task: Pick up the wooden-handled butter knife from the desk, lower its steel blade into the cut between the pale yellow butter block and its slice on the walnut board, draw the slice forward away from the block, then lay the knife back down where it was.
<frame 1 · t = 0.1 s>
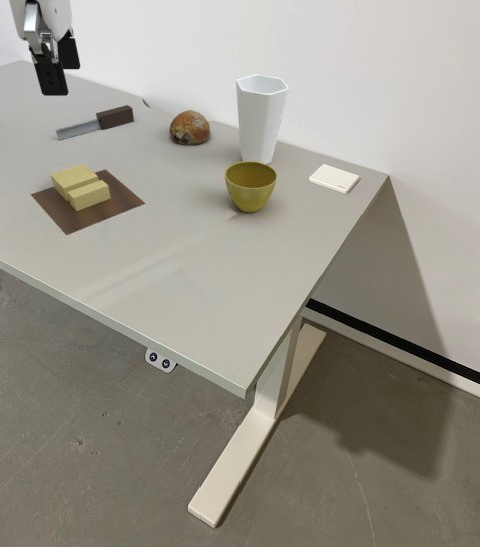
hand: (63, 81, 57), 27 cm above the table, tool pointing down, fingers open, 9 cm apart
knife: (98, 128, 106), on the table
butter block: (77, 188, 83), point 1 cm above the table, touching board
flower pot: (248, 206, 85), on the table
bread roll: (190, 137, 105), on the table
board: (89, 205, 82), on the table
butter slice: (91, 201, 80), point 1 cm above the table, touching board
cup: (256, 159, 98), on the table
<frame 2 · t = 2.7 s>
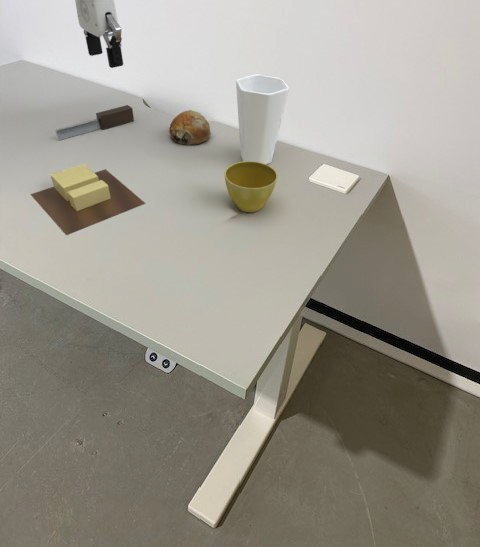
hand: (105, 60, 96), 16 cm above the table, tool pointing down, fingers open, 9 cm apart
nothing on the table moved.
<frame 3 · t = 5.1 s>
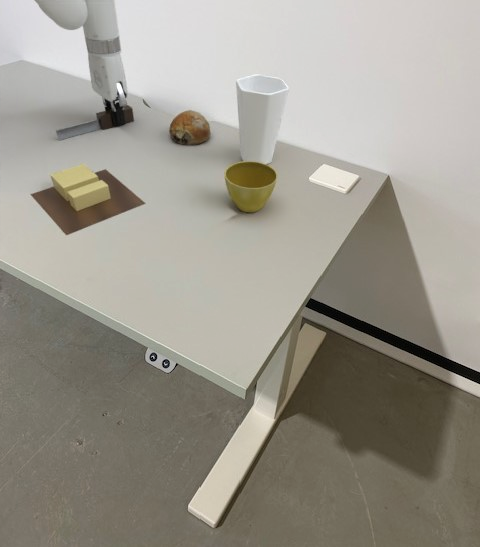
hand: (116, 122, 108), 0 cm above the table, tool pointing down, fingers closed on knife, 2 cm apart
knife: (98, 128, 106), on the table, touching gripper
everything else where it was.
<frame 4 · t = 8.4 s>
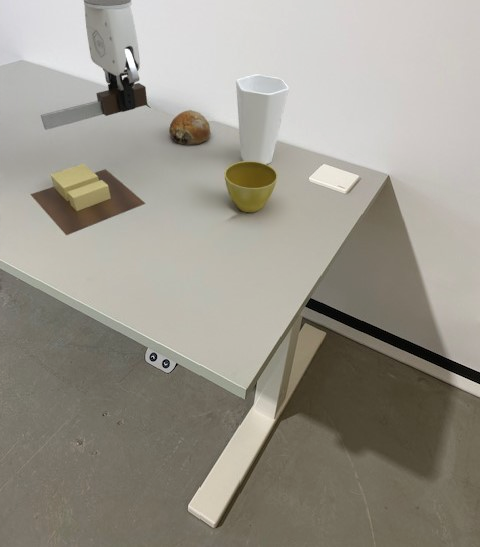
hand: (123, 106, 80), 15 cm above the table, tool pointing down, fingers closed on knife, 2 cm apart
knife: (100, 114, 78), point 15 cm above the table, touching gripper
everything else where it was.
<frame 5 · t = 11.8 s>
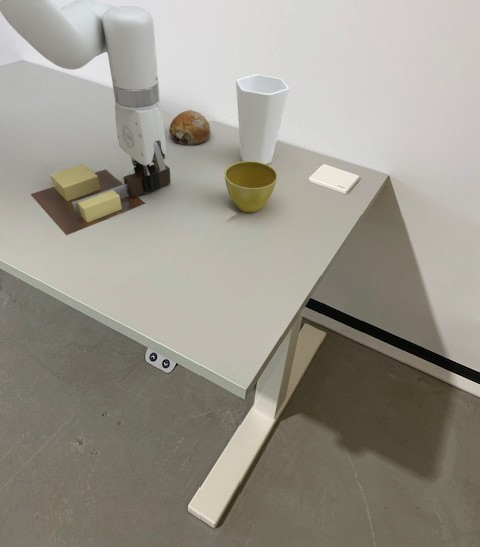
hand: (148, 186, 84), 2 cm above the table, tool pointing down, fingers closed on knife, 2 cm apart
knife: (126, 195, 81), point 2 cm above the table, touching butter slice, gripper
butter slice: (101, 212, 78), point 1 cm above the table, touching board, knife
everything else where it was.
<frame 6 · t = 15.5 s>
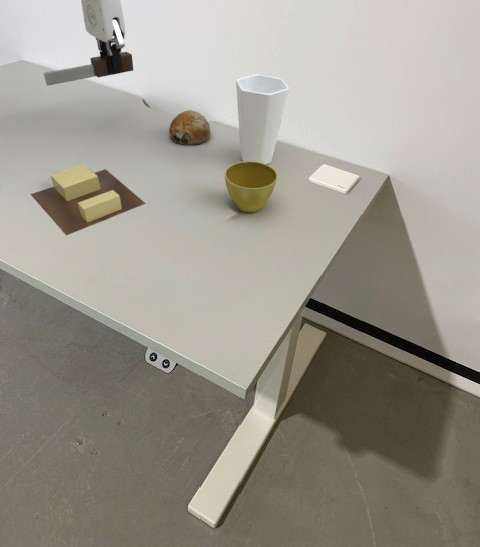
hand: (112, 70, 96), 14 cm above the table, tool pointing down, fingers closed on knife, 2 cm apart
knife: (93, 76, 94), point 14 cm above the table, touching gripper
butter slice: (101, 212, 78), point 1 cm above the table, touching board
everything else where it was.
when the fingers open (0 cm above the table, at t = 18.4 s): knife stays where it is, on the table.
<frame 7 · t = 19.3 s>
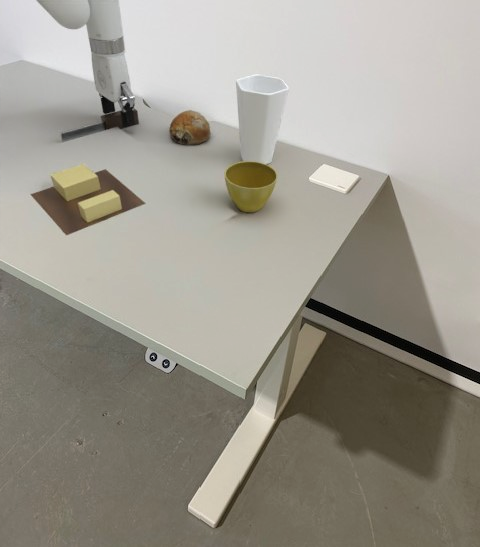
hand: (118, 119, 106), 2 cm above the table, tool pointing down, fingers open, 9 cm apart
knife: (103, 131, 105), on the table
everything else where it was.
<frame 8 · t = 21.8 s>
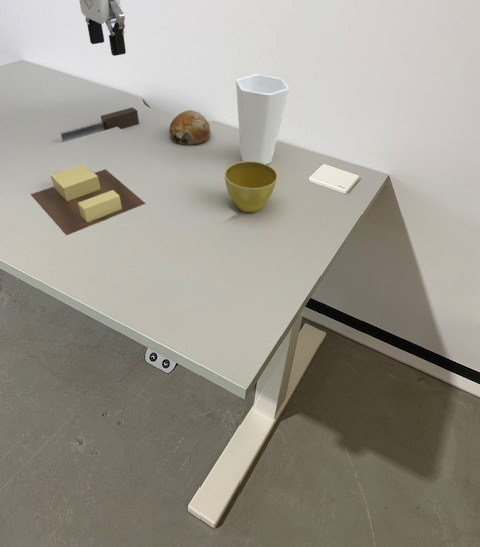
hand: (108, 48, 94), 18 cm above the table, tool pointing down, fingers open, 9 cm apart
nothing on the table moved.
at the end: butter slice moved 4.4 cm from its start; butter slice inside the target area on the board (0.0 cm from its centre), point 1.5 cm above the board's base; knife inside the target area (0.5 cm from its centre), on the table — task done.
